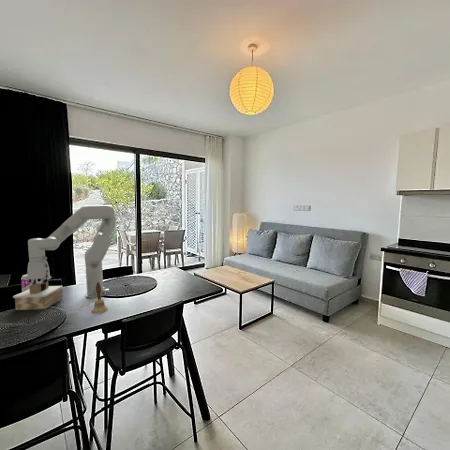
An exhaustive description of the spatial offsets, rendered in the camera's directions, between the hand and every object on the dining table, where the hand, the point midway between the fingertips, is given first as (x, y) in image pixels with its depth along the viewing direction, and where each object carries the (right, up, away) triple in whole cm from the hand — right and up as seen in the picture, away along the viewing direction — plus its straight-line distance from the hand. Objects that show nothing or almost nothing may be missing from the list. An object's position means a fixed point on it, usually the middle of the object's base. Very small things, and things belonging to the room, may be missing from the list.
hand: (39, 289), depth 148 cm
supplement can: (-17, -9, +15) cm, 24 cm away
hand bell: (+40, -10, -8) cm, 42 cm away
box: (0, -9, +1) cm, 9 cm away
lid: (0, -1, 0) cm, 1 cm away
